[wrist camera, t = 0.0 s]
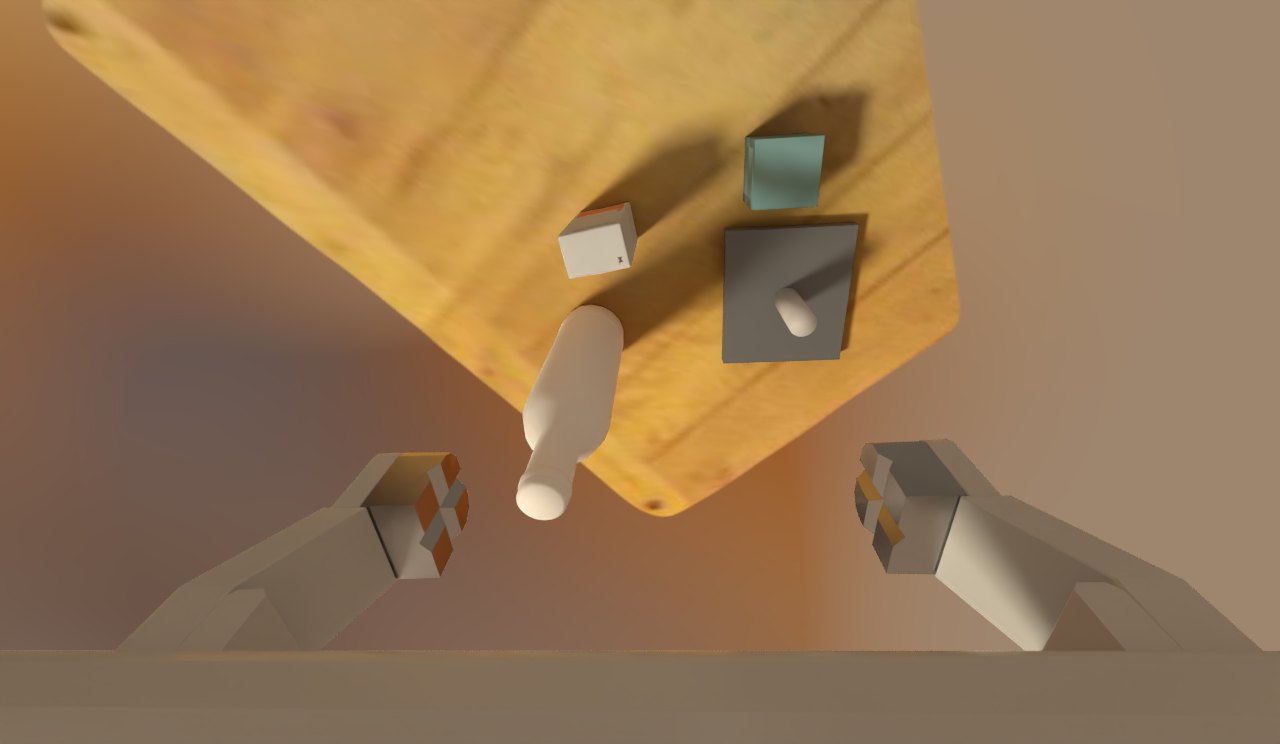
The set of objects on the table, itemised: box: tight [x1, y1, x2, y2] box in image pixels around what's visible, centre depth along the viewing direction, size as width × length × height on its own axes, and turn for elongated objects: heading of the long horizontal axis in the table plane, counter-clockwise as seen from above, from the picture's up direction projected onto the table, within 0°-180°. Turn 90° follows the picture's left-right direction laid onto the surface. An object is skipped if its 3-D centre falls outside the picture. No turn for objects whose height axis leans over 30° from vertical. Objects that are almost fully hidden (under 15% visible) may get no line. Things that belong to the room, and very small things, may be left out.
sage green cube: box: [743, 133, 825, 210], centre depth 49 cm, size 6×6×6 cm
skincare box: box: [558, 202, 638, 279], centre depth 49 cm, size 6×4×12 cm
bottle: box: [516, 305, 624, 520], centre depth 48 cm, size 8×8×30 cm
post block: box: [722, 222, 859, 363], centre depth 54 cm, size 16×14×9 cm
